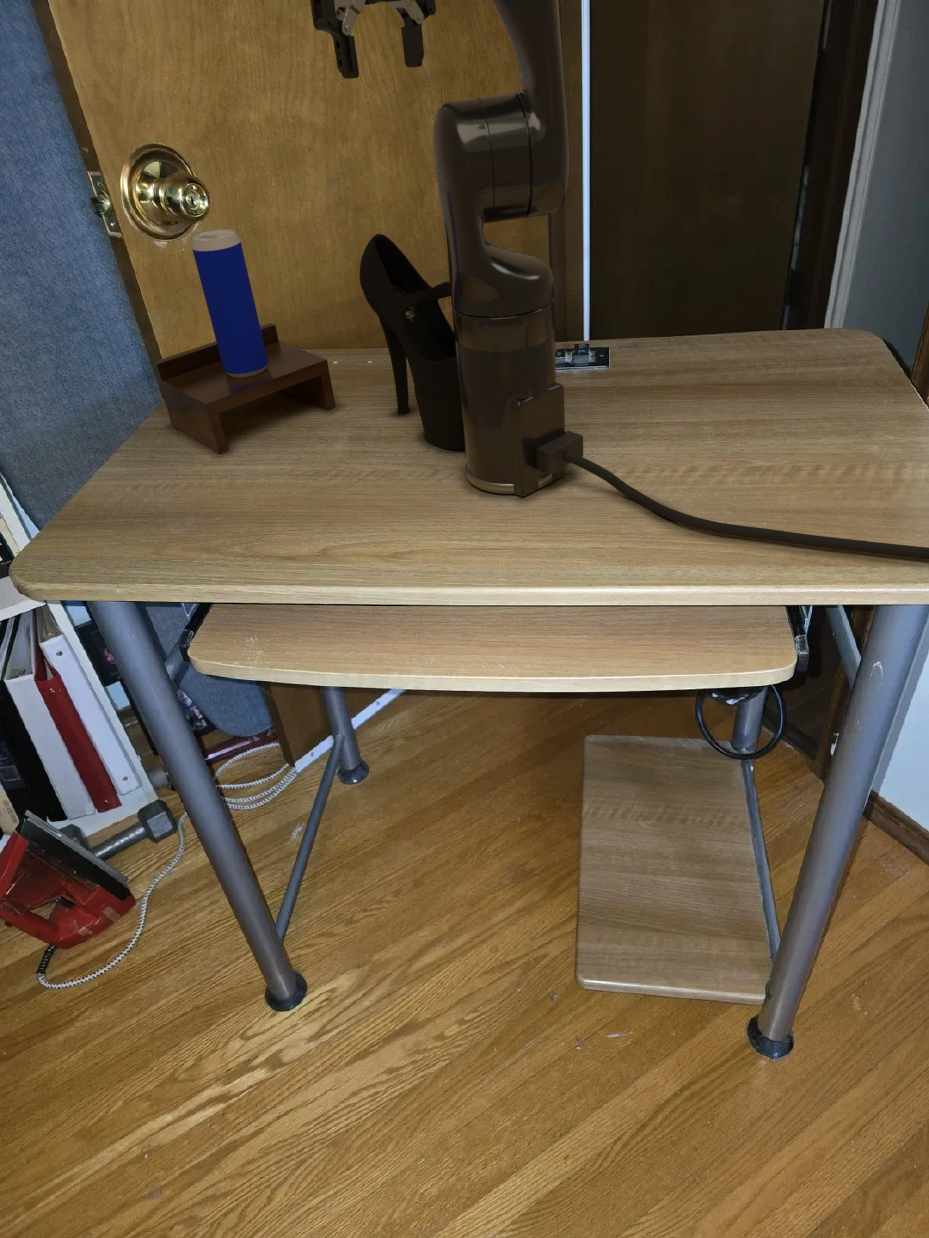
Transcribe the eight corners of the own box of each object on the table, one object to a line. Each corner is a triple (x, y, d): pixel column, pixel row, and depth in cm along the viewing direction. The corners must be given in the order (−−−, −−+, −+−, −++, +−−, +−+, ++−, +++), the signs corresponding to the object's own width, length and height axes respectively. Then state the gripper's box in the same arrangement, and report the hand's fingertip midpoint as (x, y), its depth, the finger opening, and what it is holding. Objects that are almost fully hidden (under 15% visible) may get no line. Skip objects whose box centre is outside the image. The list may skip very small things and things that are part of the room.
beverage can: (275, 362, 104) (245, 227, 95) (259, 379, 100) (226, 240, 91) (235, 362, 105) (201, 229, 96) (217, 379, 101) (181, 242, 92)
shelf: (336, 407, 107) (324, 342, 102) (219, 454, 99) (200, 386, 94) (284, 384, 115) (270, 322, 110) (172, 426, 107) (152, 362, 102)
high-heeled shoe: (466, 466, 91) (446, 266, 80) (364, 417, 104) (334, 238, 92) (523, 440, 95) (512, 246, 83) (418, 396, 108) (396, 221, 96)
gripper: (319, -126, 79) (349, 83, 89) (440, -132, 86) (456, 63, 96) (276, -116, 84) (309, 82, 94) (394, -122, 91) (413, 63, 101)
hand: (383, 72), depth 95 cm, fingers open, 8 cm apart
